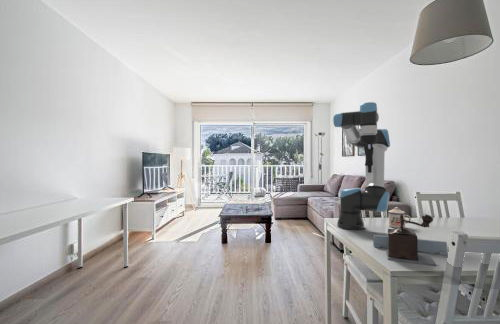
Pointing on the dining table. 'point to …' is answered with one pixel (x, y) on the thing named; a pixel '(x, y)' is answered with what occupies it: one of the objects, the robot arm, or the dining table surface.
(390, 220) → the teacup with lid
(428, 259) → the slate mat
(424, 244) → the low wall
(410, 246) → the coffee grinder
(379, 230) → the dining table surface
